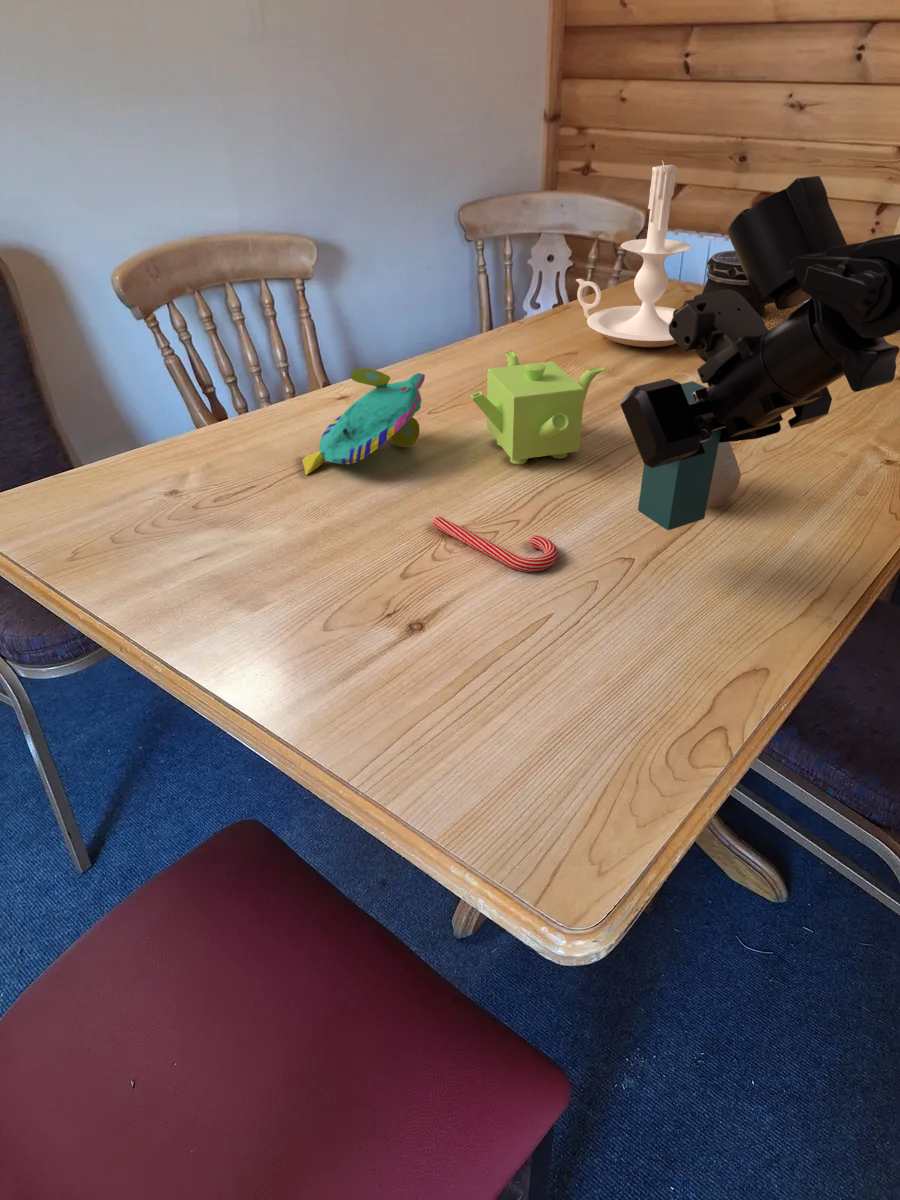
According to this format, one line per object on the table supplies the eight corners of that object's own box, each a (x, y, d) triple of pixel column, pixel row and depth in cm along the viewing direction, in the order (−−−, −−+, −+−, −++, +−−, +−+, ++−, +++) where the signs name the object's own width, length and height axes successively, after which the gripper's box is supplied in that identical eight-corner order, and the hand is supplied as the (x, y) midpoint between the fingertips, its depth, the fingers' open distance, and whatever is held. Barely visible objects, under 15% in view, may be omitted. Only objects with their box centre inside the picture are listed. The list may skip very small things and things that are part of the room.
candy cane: (467, 510, 90) (467, 498, 89) (569, 557, 81) (570, 545, 80) (429, 529, 87) (429, 517, 86) (531, 581, 78) (531, 568, 77)
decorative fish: (393, 325, 101) (422, 360, 89) (438, 402, 108) (470, 443, 96) (269, 408, 102) (280, 453, 90) (322, 478, 110) (339, 528, 98)
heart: (644, 515, 87) (680, 417, 80) (639, 476, 95) (671, 383, 87) (733, 533, 87) (776, 436, 80) (720, 493, 95) (759, 401, 87)
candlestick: (600, 313, 152) (614, 149, 136) (722, 334, 140) (754, 156, 123) (544, 341, 139) (552, 163, 123) (673, 367, 127) (702, 173, 110)
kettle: (505, 419, 111) (508, 340, 104) (600, 437, 106) (609, 355, 99) (457, 460, 100) (456, 375, 94) (560, 483, 95) (567, 394, 88)
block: (704, 519, 73) (728, 396, 66) (667, 530, 72) (688, 406, 65) (673, 499, 76) (692, 380, 69) (637, 510, 75) (653, 390, 68)
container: (721, 323, 145) (732, 267, 139) (687, 305, 155) (695, 252, 149) (781, 317, 148) (794, 261, 142) (743, 299, 158) (753, 247, 152)
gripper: (839, 247, 61) (715, 349, 75) (651, 280, 54) (554, 385, 69) (896, 375, 60) (759, 454, 74) (712, 425, 53) (600, 501, 68)
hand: (671, 445), depth 71 cm, fingers closed on block, 4 cm apart
